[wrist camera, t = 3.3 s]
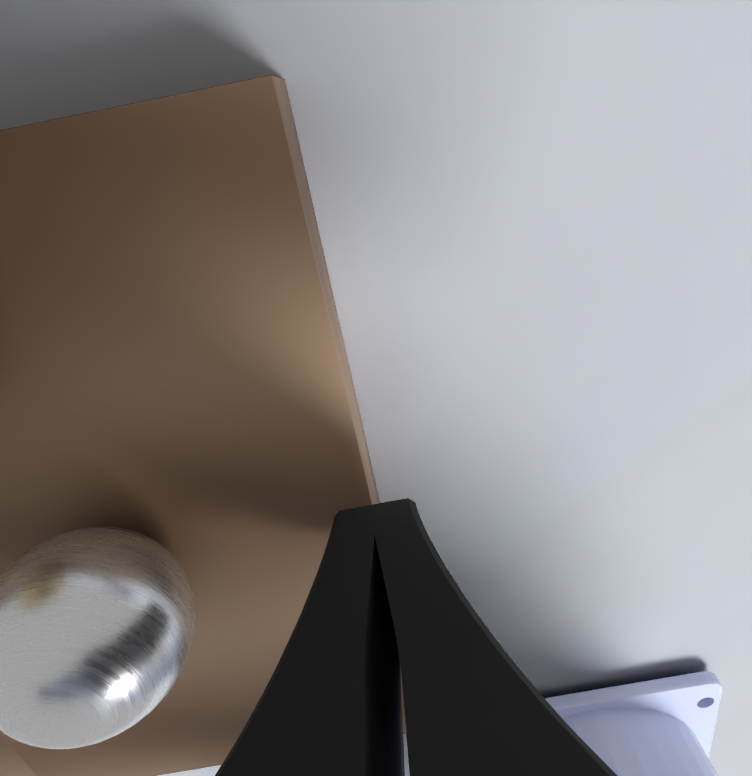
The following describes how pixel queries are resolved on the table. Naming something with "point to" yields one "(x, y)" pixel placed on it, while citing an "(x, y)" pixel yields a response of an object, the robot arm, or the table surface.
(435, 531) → the table surface
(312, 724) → the robot arm
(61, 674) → the steel ball
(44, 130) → the hole plate
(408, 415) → the table surface
